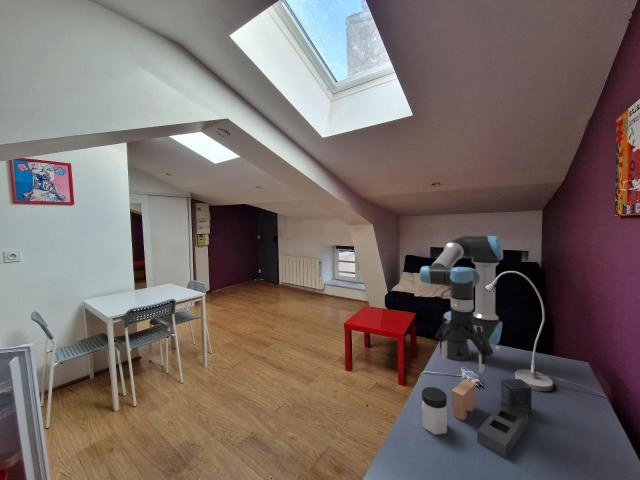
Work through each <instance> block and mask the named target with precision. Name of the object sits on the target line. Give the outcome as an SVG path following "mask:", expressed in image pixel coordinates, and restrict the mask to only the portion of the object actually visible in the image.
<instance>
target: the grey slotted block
mask: <svg viewBox="0 0 640 480" xmlns="http://www.w3.org/2000/svg"><path fill="white" fill-rule="evenodd" d="M528 424H529V414H528V412H525V411H523V410H521V409H518V408H516V407H514V406H512V405H509V404H507V403H505V402H501V401H500V403H499V404H498V405H497V407H496V408H495V409H494V410H493V412H492V413H491V414H490V415H489V416H488V417H487V418H486V419H485V421H484V422H483V423H482V425H481V426H480V427H479V428H478V429H477V431H476V432H477V434H476V435H477V437H476V438H477V439H476V440H477V443H478V444H480V445H481V446H484V447H485V448H486V449H489V450H490V451H492V452H494V453H495V454H497V455H499V456H501V457H502V458H504V459H506V458H508V455H509V454H510V452H511V451H512V450H513V448H514V446H515V444H516V443H517V441H518V440H519V438H520V437H521V435H522V434H523V432H524V430H525V429H526V428H527V426H528Z"/></svg>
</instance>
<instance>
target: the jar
mask: <svg viewBox="0 0 640 480" xmlns="http://www.w3.org/2000/svg"><path fill="white" fill-rule="evenodd" d="M447 398H448V396H447V394H446V392H445V391H443V390H442V389H440V388H437V387H433V386H428V387H424V388H423V389H422V390H421V400H422V403H421V415H422V428H423V429H425V430H426V431H428V432H430V433H431V434H433V435H435V436H436V435H442V434H447V433H448V420H447V418H448V410H447V409H448V405H447V404H448V401H447Z"/></svg>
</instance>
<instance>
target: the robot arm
mask: <svg viewBox="0 0 640 480" xmlns="http://www.w3.org/2000/svg"><path fill="white" fill-rule="evenodd" d="M462 258H464V259H471V260H472V261H471V262H472V263H473V264H474V265H475V268H472V267H467V266H465V267H464V266H456V267H455V264H456V263H457V262H458V260H460V259H462ZM503 259H504V251H503V243H502V240H501V238H500V237H499V236H495V235H463V236H460V237H456V238H454V239H452V240H450V241H449V242H447V243H446V245H444V248H443V251H442V252H441V254H440V255H439V256H438V257H437V258H436V260H435V261H433V263H432V264H431V265H423V266H421V268H420V270H419V278H420V281H421V282H422V283H423V284H428V285H438V286H447V287H450V308H451V309H450V310H449V311H447V312H445V313H444V314H443V318H442V323H441V324H440V326H439V328H438V330H437V331H436V333H435V335H434V337H435V339H437V340H438V341H439V349H440V354H441V359H446V358H447V359H450V360H452V361H458V362H460V361H461V362H463V361H464V362H465V361H469V360H470V359H472V351H471V348H470V344H469V341H468V340H470V341H471V342H472V344H474V346H475V348H476V349H477V350H478V352H479V354H478V373H479V374H482V373H484V371H485V365H486V364H487V363H488V357H490V356H492V355H493V354H494V350H493V348H492V347H491V345H498V344H499V342H500V339H501V335H502V331H503V330H502V328H503V322H502V321H499V318H500V317H499V316H498V314H496V288H495V289H494V292H489V291H487V290H486V289H485V286H486V285H489V284H491V283H492V282H493V281H494V280H495V281H496V267H497V266H498V265H499V264H500V261H501V260H503ZM474 288H475V294H474ZM474 295H475V296H474ZM474 297H475V301H474ZM474 303H475V305H474ZM474 308H475V309H474Z"/></svg>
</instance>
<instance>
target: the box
mask: <svg viewBox="0 0 640 480" xmlns="http://www.w3.org/2000/svg"><path fill="white" fill-rule="evenodd" d="M500 383H501V385H500V387H501V388H500V389H501V390H500V393H501V396H500V397H501V398H500V403H501V402H505V403H507V404H509V405H512V406H514V407H516V408H518V409H521V410H523V411H525V412H528V415H532V412H533V411H532V409H533V408H532V386H530V384H528V383H527V382H525V381H524V380H523V379H521V378H515V379H514V378H513V379H501V381H500Z"/></svg>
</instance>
